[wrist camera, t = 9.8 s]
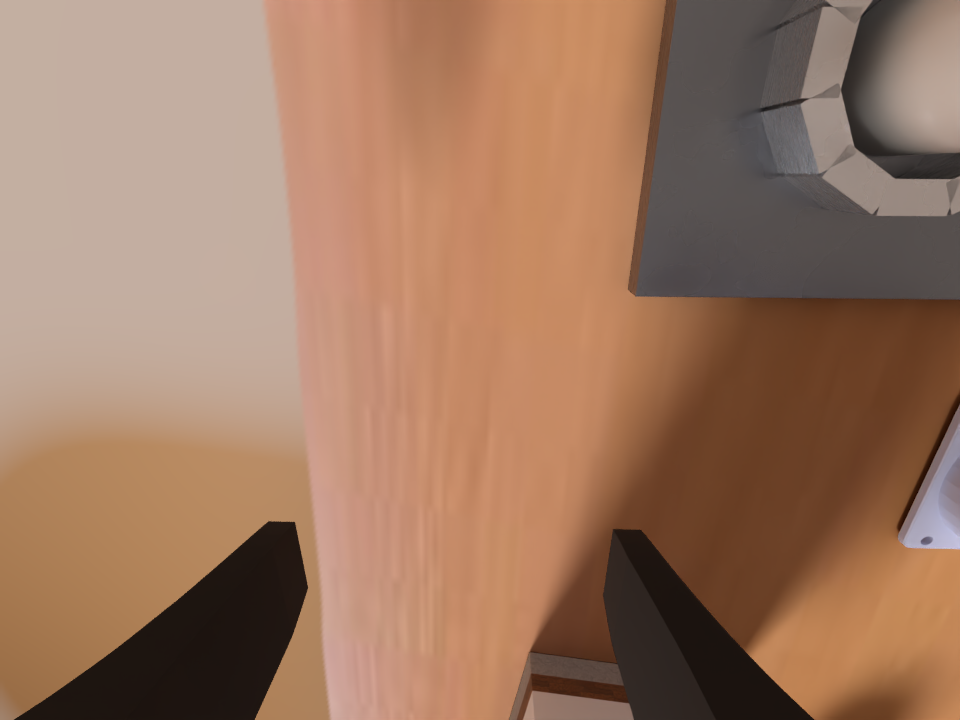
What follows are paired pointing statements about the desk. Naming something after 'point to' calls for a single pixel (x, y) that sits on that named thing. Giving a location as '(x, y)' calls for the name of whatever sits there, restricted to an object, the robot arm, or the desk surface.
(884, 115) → the cylinder
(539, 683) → the tall hollow white pillar
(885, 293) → the duct base
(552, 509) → the desk surface
